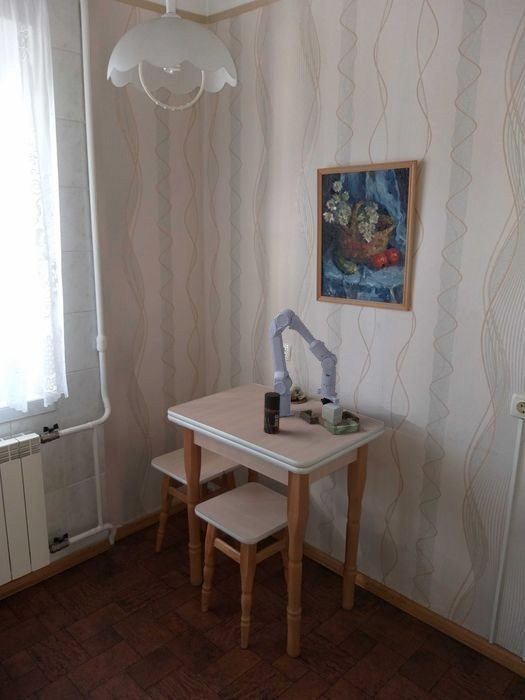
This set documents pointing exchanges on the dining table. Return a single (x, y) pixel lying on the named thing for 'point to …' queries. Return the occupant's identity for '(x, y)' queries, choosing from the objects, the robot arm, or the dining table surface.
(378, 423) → the dining table surface
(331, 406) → the product box
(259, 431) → the dining table surface
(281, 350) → the robot arm
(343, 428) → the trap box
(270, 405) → the deodorant
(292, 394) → the skull
